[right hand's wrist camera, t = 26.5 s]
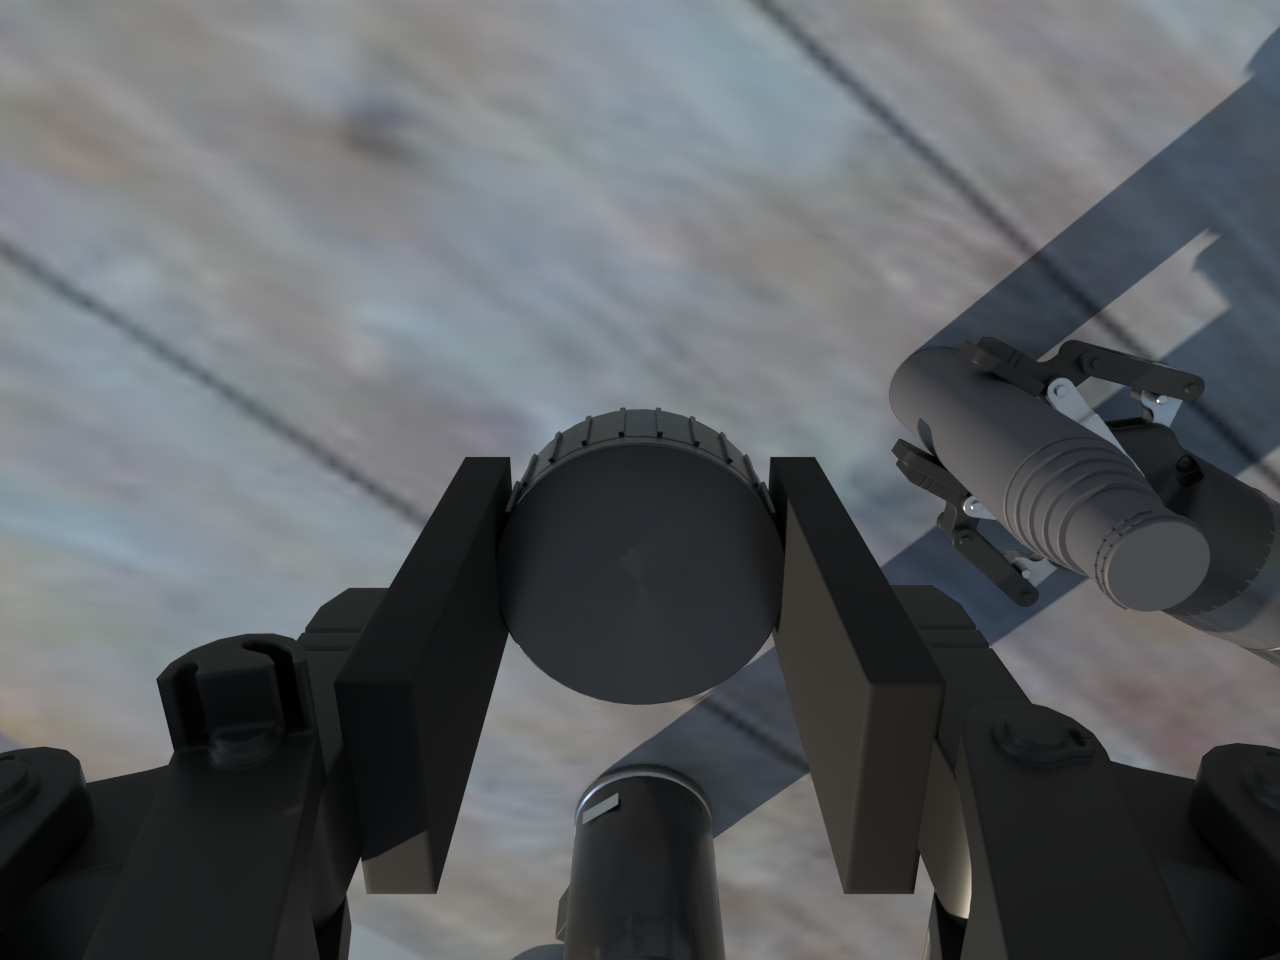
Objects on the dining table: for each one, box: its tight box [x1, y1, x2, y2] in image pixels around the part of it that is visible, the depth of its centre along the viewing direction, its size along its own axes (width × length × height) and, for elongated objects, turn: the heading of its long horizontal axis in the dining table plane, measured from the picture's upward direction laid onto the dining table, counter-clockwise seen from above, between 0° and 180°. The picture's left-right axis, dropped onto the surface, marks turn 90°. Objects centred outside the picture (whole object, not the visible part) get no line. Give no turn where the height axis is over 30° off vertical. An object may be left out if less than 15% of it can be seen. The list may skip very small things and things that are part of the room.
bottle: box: [889, 347, 1211, 612], centre depth 36 cm, size 5×5×22 cm
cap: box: [495, 408, 785, 705], centre depth 14 cm, size 5×5×2 cm
